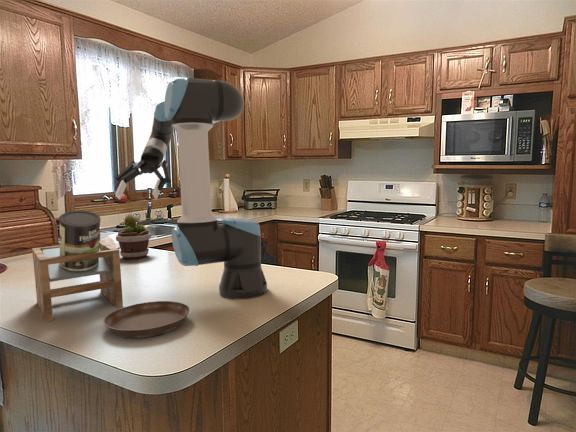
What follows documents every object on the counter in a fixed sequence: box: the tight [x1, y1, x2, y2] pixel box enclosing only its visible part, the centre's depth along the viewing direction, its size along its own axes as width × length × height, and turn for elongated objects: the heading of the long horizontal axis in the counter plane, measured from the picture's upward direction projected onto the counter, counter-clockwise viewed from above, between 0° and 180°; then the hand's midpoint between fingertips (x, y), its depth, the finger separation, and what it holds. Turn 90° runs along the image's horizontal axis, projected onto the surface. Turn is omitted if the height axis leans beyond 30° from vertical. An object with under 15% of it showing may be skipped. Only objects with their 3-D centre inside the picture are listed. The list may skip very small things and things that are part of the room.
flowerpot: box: [116, 212, 152, 260], centre depth 184 cm, size 14×15×20 cm
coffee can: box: [58, 210, 101, 271], centre depth 118 cm, size 10×10×14 cm
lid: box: [42, 248, 109, 283], centre depth 122 cm, size 15×15×1 cm
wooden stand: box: [31, 240, 124, 322], centre depth 122 cm, size 20×20×16 cm
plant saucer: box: [103, 300, 190, 339], centre depth 106 cm, size 21×21×3 cm
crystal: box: [104, 232, 120, 249], centre depth 214 cm, size 7×7×24 cm
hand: (136, 196), depth 144 cm, fingers open, 13 cm apart
